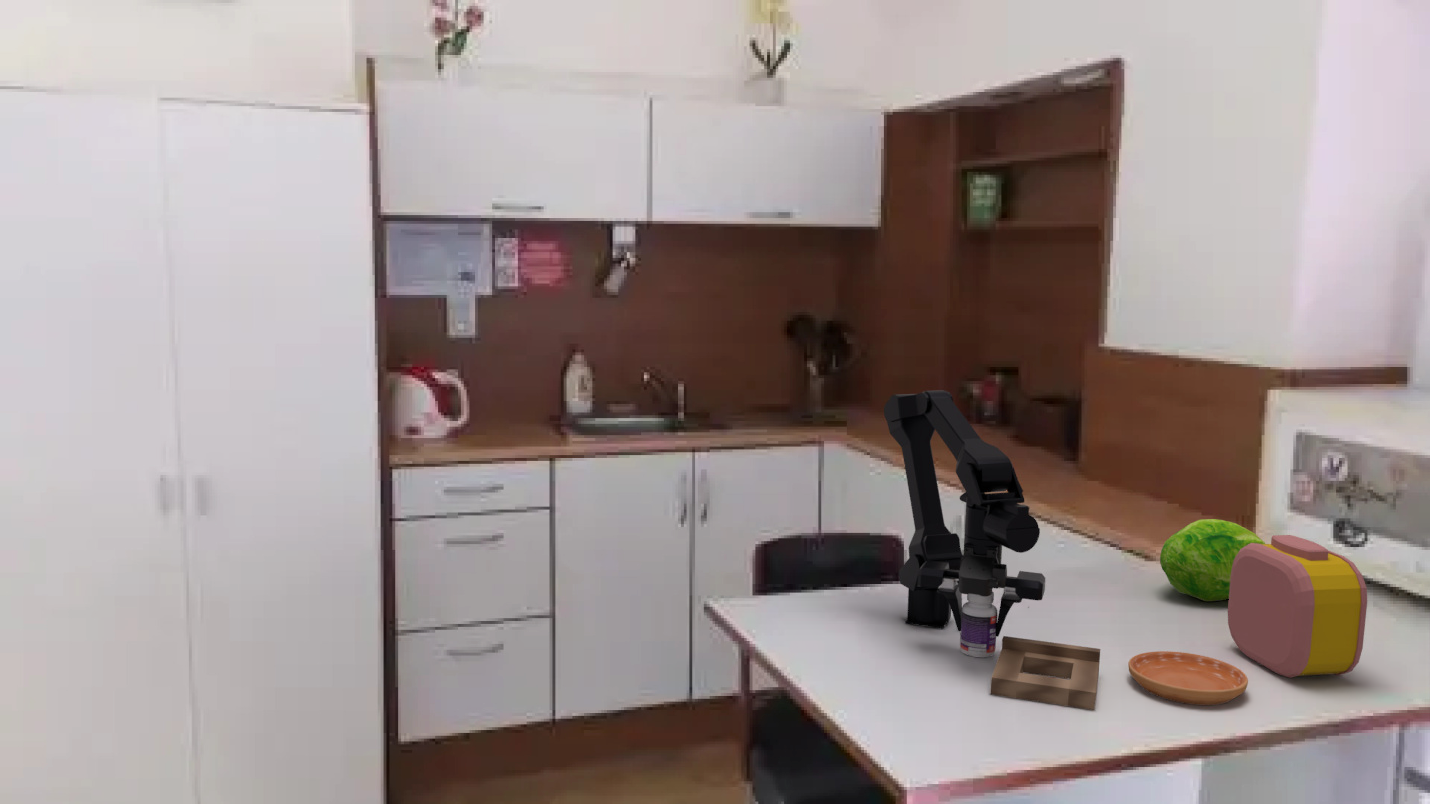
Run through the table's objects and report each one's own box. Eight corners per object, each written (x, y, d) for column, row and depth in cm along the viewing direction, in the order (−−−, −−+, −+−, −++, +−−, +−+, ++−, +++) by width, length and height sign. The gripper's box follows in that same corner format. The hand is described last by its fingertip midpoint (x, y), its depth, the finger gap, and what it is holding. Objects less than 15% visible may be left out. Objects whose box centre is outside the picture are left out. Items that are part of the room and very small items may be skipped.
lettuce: (1213, 571, 220) (1285, 604, 206) (1131, 586, 209) (1202, 622, 196) (1228, 500, 216) (1302, 530, 203) (1145, 512, 205) (1218, 544, 192)
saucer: (1112, 667, 171) (1113, 648, 171) (1218, 670, 171) (1220, 651, 171) (1149, 710, 156) (1151, 689, 155) (1266, 713, 155) (1268, 692, 155)
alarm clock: (1364, 686, 165) (1377, 558, 162) (1296, 690, 163) (1308, 560, 160) (1281, 642, 183) (1291, 526, 180) (1219, 645, 181) (1229, 527, 178)
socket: (990, 694, 159) (991, 667, 159) (1002, 661, 172) (1003, 636, 172) (1094, 710, 155) (1096, 682, 154) (1098, 674, 167) (1100, 649, 167)
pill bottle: (995, 659, 172) (999, 598, 171) (959, 656, 174) (963, 595, 172) (994, 647, 178) (997, 587, 176) (959, 644, 179) (962, 585, 177)
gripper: (912, 541, 169) (908, 641, 171) (1041, 555, 162) (1035, 659, 164) (926, 524, 179) (922, 619, 181) (1048, 537, 173) (1042, 635, 175)
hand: (978, 633), depth 175 cm, fingers closed on pill bottle, 5 cm apart
